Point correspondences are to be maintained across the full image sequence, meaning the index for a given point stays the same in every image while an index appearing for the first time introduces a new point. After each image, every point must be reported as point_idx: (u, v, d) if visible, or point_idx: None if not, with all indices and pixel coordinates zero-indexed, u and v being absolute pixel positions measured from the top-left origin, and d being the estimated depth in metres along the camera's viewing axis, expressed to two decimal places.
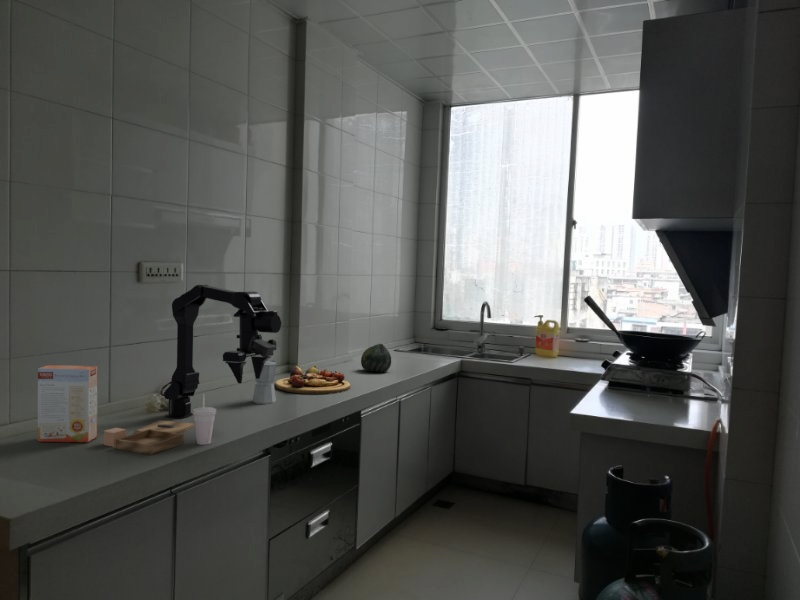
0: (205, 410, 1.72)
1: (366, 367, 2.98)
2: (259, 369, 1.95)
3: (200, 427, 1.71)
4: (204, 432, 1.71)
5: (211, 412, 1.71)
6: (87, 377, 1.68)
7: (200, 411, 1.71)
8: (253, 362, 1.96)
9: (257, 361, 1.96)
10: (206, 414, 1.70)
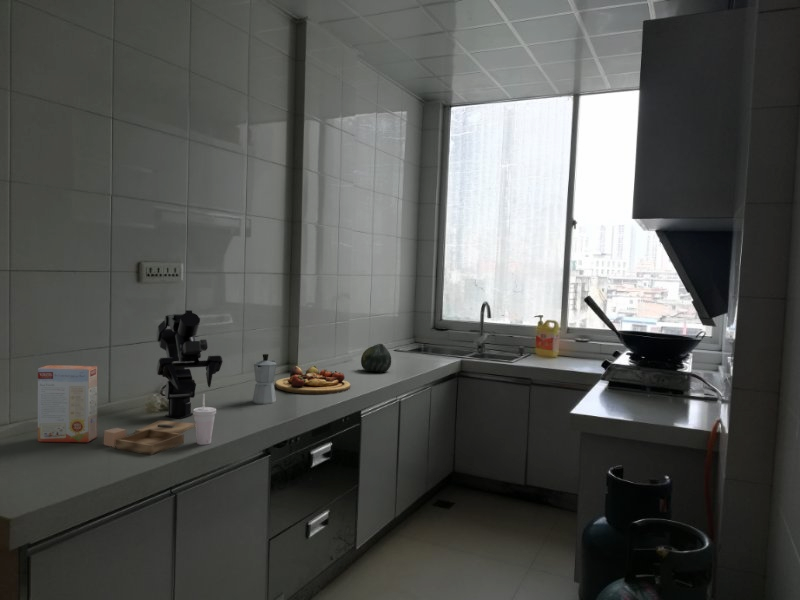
0: (205, 410, 1.72)
1: (366, 367, 2.98)
2: (208, 377, 1.87)
3: (200, 427, 1.71)
4: (204, 432, 1.71)
5: (211, 412, 1.71)
6: (87, 377, 1.68)
7: (200, 411, 1.71)
8: (206, 376, 1.90)
9: (207, 372, 1.90)
10: (206, 414, 1.70)
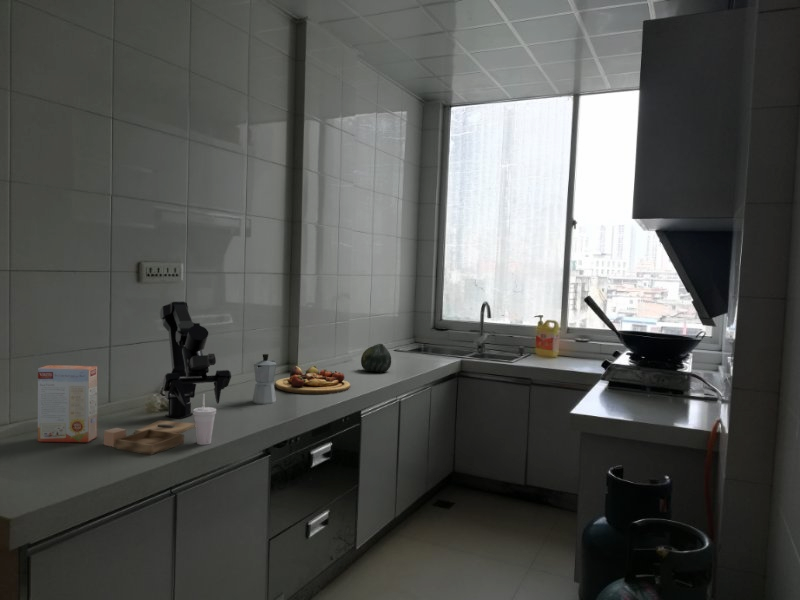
0: (205, 410, 1.72)
1: (366, 367, 2.98)
2: (216, 392, 1.79)
3: (200, 427, 1.71)
4: (204, 432, 1.71)
5: (211, 412, 1.71)
6: (87, 377, 1.68)
7: (200, 411, 1.71)
8: (214, 391, 1.82)
9: (215, 387, 1.81)
10: (206, 414, 1.70)
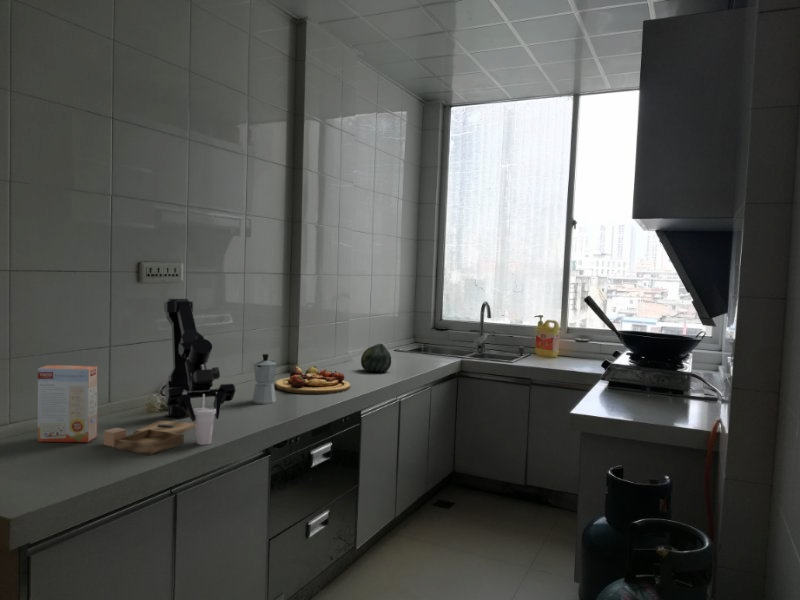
0: (205, 410, 1.72)
1: (366, 367, 2.98)
2: (216, 407, 1.75)
3: (200, 427, 1.71)
4: (204, 432, 1.71)
5: (211, 412, 1.71)
6: (87, 377, 1.68)
7: (200, 411, 1.71)
8: (214, 406, 1.78)
9: (215, 402, 1.77)
10: (206, 414, 1.70)
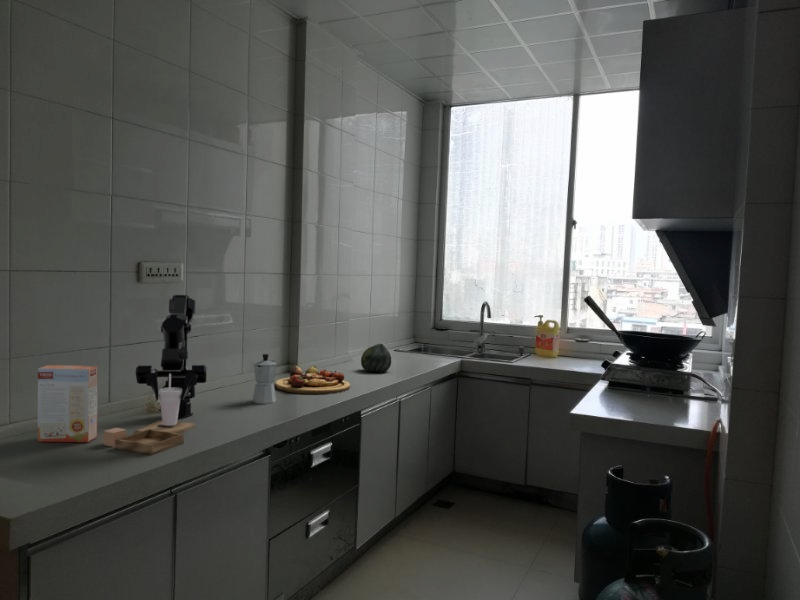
0: (169, 390, 1.68)
1: (366, 367, 2.98)
2: (183, 388, 1.70)
3: (163, 407, 1.67)
4: (167, 412, 1.67)
5: (174, 392, 1.67)
6: (87, 377, 1.68)
7: (163, 391, 1.67)
8: None
9: None
10: (168, 394, 1.66)
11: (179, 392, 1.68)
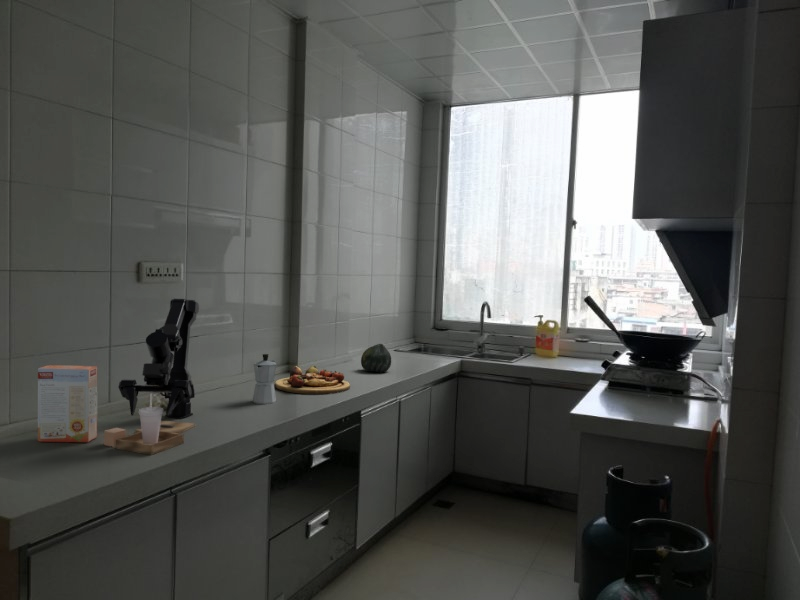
0: (149, 410, 1.67)
1: (366, 367, 2.98)
2: None
3: (143, 427, 1.67)
4: (146, 433, 1.67)
5: (152, 413, 1.66)
6: (87, 377, 1.68)
7: (143, 411, 1.67)
8: None
9: None
10: (147, 415, 1.65)
11: (158, 413, 1.67)
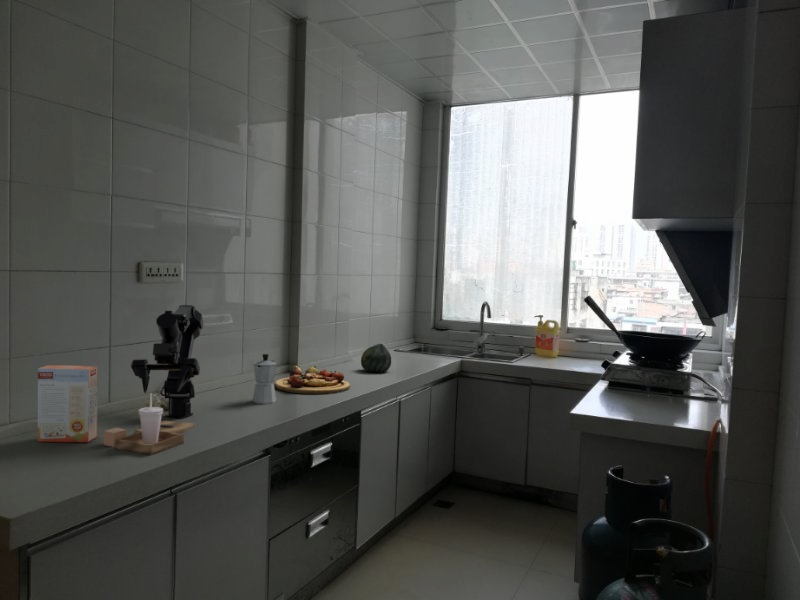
0: (148, 410, 1.67)
1: (366, 367, 2.98)
2: None
3: (143, 427, 1.67)
4: (146, 433, 1.67)
5: (152, 413, 1.66)
6: (87, 377, 1.68)
7: (143, 411, 1.67)
8: None
9: None
10: (147, 414, 1.66)
11: (158, 412, 1.67)
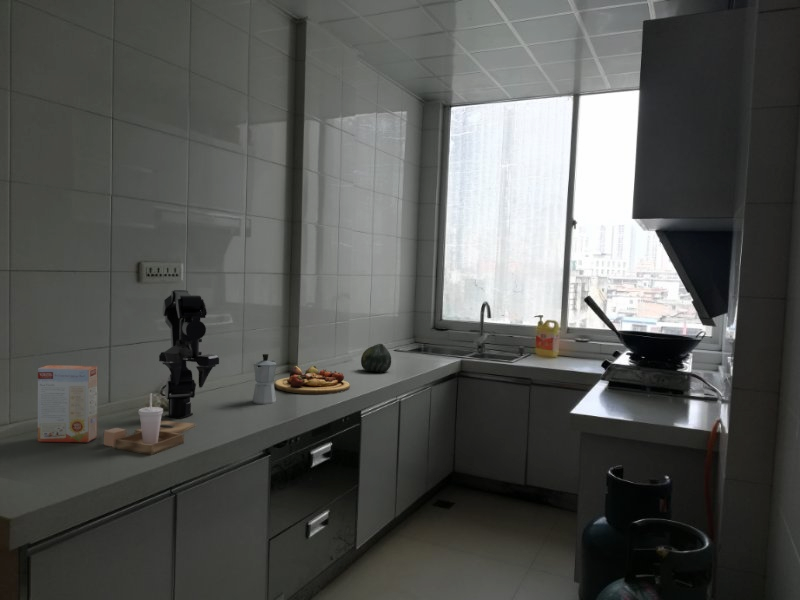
0: (148, 410, 1.67)
1: (366, 367, 2.98)
2: None
3: (143, 427, 1.67)
4: (146, 433, 1.67)
5: (152, 413, 1.66)
6: (86, 377, 1.68)
7: (143, 411, 1.67)
8: None
9: None
10: (147, 414, 1.66)
11: (158, 412, 1.67)
